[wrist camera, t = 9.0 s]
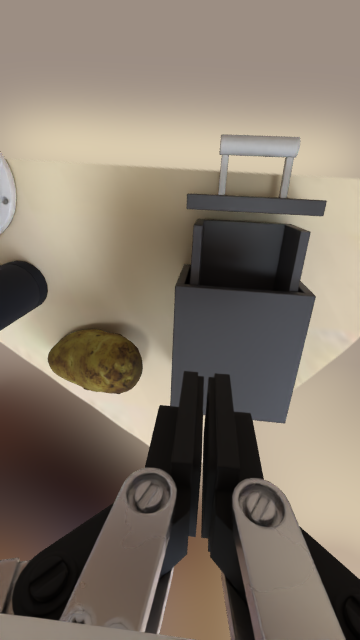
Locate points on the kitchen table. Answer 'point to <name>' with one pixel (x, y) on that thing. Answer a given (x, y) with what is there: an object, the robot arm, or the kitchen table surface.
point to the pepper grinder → (19, 291)
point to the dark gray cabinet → (241, 342)
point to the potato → (97, 361)
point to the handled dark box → (251, 227)
